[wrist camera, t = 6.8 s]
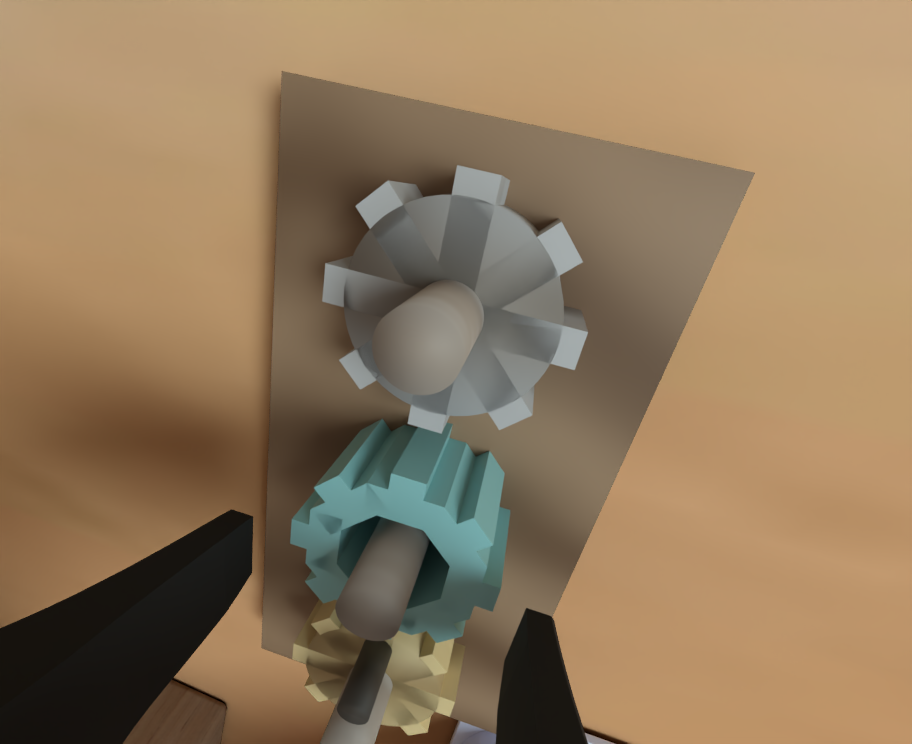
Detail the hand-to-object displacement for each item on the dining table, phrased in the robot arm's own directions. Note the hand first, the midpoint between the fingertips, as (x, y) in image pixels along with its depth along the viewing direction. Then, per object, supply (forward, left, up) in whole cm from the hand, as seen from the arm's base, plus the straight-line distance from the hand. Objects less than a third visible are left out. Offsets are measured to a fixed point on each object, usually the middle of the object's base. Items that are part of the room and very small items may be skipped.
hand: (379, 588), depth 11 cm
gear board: (0, 0, -5) cm, 5 cm away
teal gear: (0, 0, -4) cm, 4 cm away
